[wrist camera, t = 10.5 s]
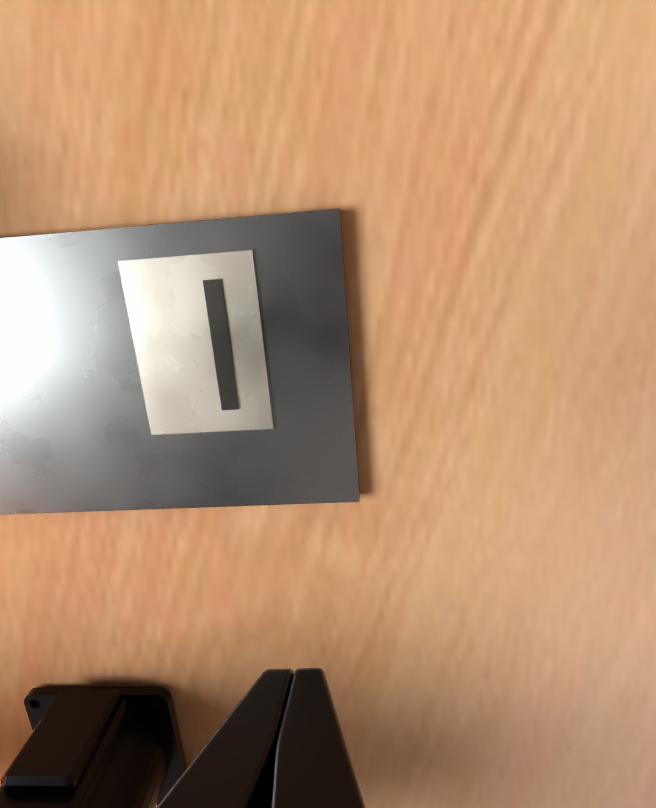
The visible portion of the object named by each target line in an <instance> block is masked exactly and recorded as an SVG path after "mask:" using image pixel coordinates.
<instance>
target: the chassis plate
mask: <svg viewBox="0 0 656 808" xmlns="http://www.w3.org/2000/svg"><path fill="white" fill-rule="evenodd" d="M359 499H360V493H359V479H358V464H357V450H356V435H355V421H354V406H353V392H352V378H351V363H350V349H349V334H348V320H347V305H346V291H345V277H344V262H343V248H342V233H341V219H340V209H329V210H318V211H306V212H295V213H284V214H272V215H261V216H249V217H238V218H226V219H215V220H203V221H192V222H180V223H169V224H158V225H146V226H135V227H123V228H112V229H100V230H89V231H77V232H66V233H54V234H43V235H32V236H20V237H9V238H0V515H4V514H32V513H59V512H87V511H115V510H143V509H170V508H198V507H226V506H254V505H281V504H309V503H337V502H359Z"/></svg>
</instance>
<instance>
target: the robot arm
mask: <svg viewBox="0 0 656 808" xmlns="http://www.w3.org/2000/svg"><path fill="white" fill-rule="evenodd" d="M159 700H160V701H159ZM24 704H25V708H26V711H27V714H28V717H29V720H30V723H31V726H32V729H33V732H32V733H31V735H30V736H29V738H28V739H27V741H26V742H25V744H24V745H23V747H22V748H21V750H20V752H19V753H18V755H17V756H16V758H15V759H14V761H13V762H12V764H11V765H10V767H9V768H8V770H7V771H6V773H5V774H4V776H3V777H2V780H1V784H2V786H1V787H0V808H155V807H156V805H158V806H157V808H365V805H364V802H363V798H362V795H361V792H360V789H359V785H358V782H357V779H356V775H355V772H354V769H353V766H352V762H351V759H350V756H349V752H348V749H347V746H346V743H345V739H344V736H343V733H342V729H341V726H340V723H339V719H338V716H337V713H336V710H335V706H334V703H333V700H332V696H331V693H330V690H329V687H328V683H327V680H326V677H325V674H324V671H323V670H322V669H320V668H304V669H297V670H296V671H295V672H294V671H292V670H291V669H268V670H266V671H264V672H263V673H262V674H261V676H260V677H259V678H258V679H257V681H256V682H255V683H254V685H253V686H252V687H251V688H250V690H249V691H248V692H247V693H246V695H245V696H244V697H243V698H242V700H241V701H240V702H239V704H238V705H237V706H236V707H235V709H234V710H233V711H232V712H231V714H230V715H229V716H228V717H227V719H226V720H225V721H224V723H223V724H222V725H221V726H220V728H219V729H218V730H217V731H216V733H215V734H214V735H213V737H212V738H211V739H210V740H209V742H208V743H207V744H206V745H205V747H204V748H203V749H202V750H201V752H200V753H199V754H198V756H197V757H196V758H195V759H194V761H193V762H192V763H191V764H190V766H189V767H188V768H186V764H185V759H184V754H183V750H182V745H181V740H180V736H179V731H178V726H177V722H176V717H175V712H174V708H173V703H172V698H171V695H170V693H169V692H168V691H167V690H166V689H164V688H160V687H74V688H34V689H32V690H31V691H30V692H29V694H28V695H27V696H26V698H25V700H24Z"/></svg>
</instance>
